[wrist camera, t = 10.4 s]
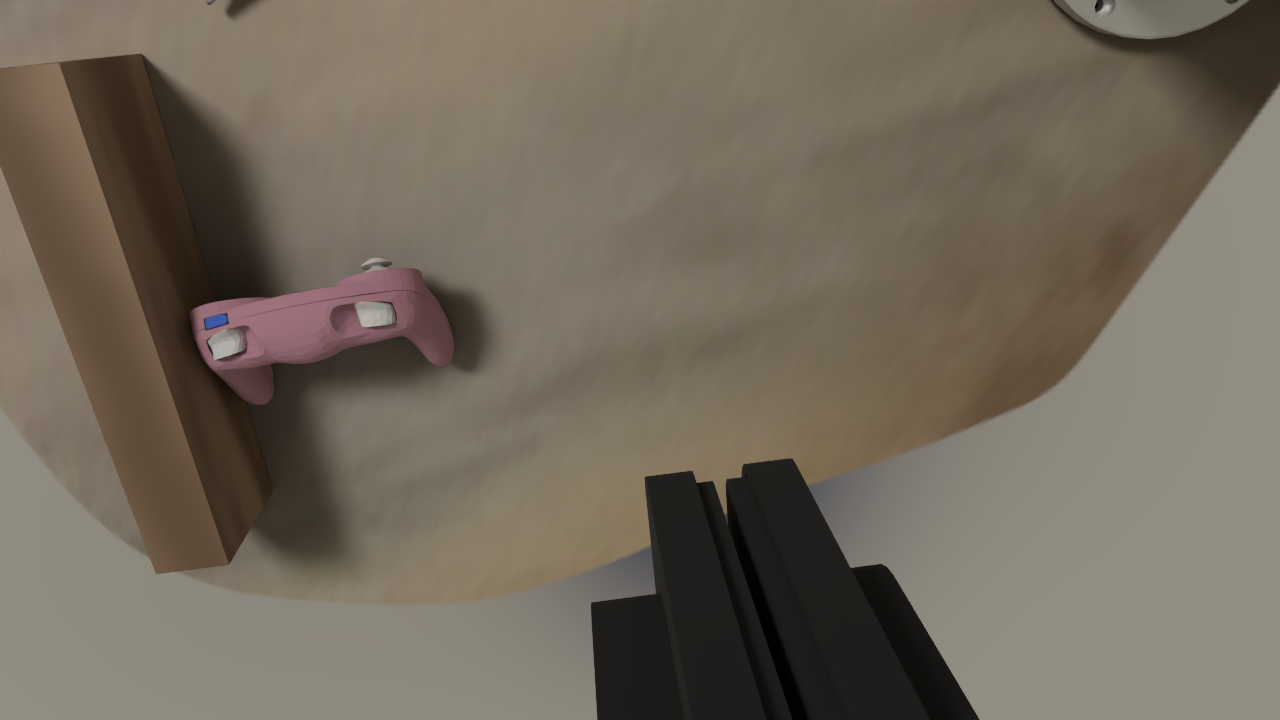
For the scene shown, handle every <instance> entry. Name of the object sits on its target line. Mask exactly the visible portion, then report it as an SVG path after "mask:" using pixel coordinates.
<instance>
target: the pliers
mask: <svg viewBox="0 0 1280 720" xmlns="http://www.w3.org/2000/svg"><path fill="white" fill-rule="evenodd" d="M215 1H216V0H206V1H205V3H206V4H208V5H211V4H212V3H213V2H215Z"/></svg>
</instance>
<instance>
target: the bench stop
mask: <svg viewBox="0 0 1280 720" xmlns="http://www.w3.org/2000/svg"><path fill="white" fill-rule="evenodd" d="M0 166H1V169H2V171H3V174H4V177H5V179H6V182H7V185H8V187H9V190H10V192H11V195H12V198H13V200H14V203H15V206H16V208H17V211H18V213H19V216H20V219H21V221H22V224H23V227H24V229H25V232H26V234H27V237H28V240H29V242H30V245H31V247H32V250H33V253H34V255H35V258H36V261H37V263H38V266H39V268H40V271H41V274H42V276H43V279H44V282H45V284H46V287H47V289H48V292H49V295H50V297H51V300H52V302H53V305H54V308H55V310H56V313H57V316H58V318H59V321H60V323H61V326H62V329H63V331H64V334H65V337H66V339H67V342H68V344H69V347H70V350H71V352H72V355H73V358H74V360H75V363H76V365H77V368H78V371H79V373H80V376H81V378H82V381H83V384H84V386H85V389H86V392H87V394H88V397H89V399H90V402H91V405H92V407H93V410H94V413H95V415H96V418H97V420H98V423H99V426H100V428H101V431H102V433H103V436H104V439H105V441H106V444H107V447H108V449H109V452H110V454H111V457H112V460H113V462H114V465H115V468H116V470H117V473H118V475H119V478H120V481H121V483H122V486H123V489H124V491H125V494H126V496H127V499H128V502H129V504H130V507H131V509H132V512H133V515H134V517H135V520H136V523H137V525H138V528H139V530H140V533H141V536H142V538H143V541H144V544H145V546H146V549H147V551H148V554H149V557H150V559H151V562H152V564H153V567H154V570H155V572H156V574H161V573H169V572H176V571H184V570H192V569H200V568H208V567H215V566H223V565H229V564H230V562H231V561H232V559H233V557H234V556H235V554H236V552H237V550H238V549H239V547H240V545H241V544H242V542H243V540H244V538H245V537H246V535H247V533H248V532H249V530H250V528H251V527H252V525H253V523H254V521H255V520H256V518H257V516H258V515H259V513H260V511H261V510H262V508H263V506H264V504H265V503H266V501H267V499H268V498H269V496H270V494H271V493H272V491H273V488H272V485H271V482H270V479H269V475H268V472H267V469H266V465H265V462H264V459H263V455H262V452H261V449H260V445H259V442H258V439H257V435H256V432H255V429H254V426H253V422H252V419H251V416H250V412H249V409H248V406H247V402H246V401H245V400H244V399H242V398H241V397H240V396H239V395H238V394H237V393H236V392H235V391H234V390H233V389H232V388H231V387H230V386H229V385H228V384H227V383H226V382H225V381H224V380H223V379H222V378H221V377H220V376H218V375H217V374H216V373H215V372H214V371H213V370H212V369H211V368H210V367H209V366H208V365H207V364H206V362H205V361H204V359H203V358H202V356H201V354H200V351H199V349H198V346H197V343H196V341H195V340H194V339H193V332H192V326H191V319H190V311H191V310H193V309H194V308H196V307H199V306H202V305H204V304H208V303H212V302H216V300H215V296H214V293H213V290H212V286H211V283H210V280H209V276H208V273H207V270H206V267H205V263H204V260H203V257H202V253H201V250H200V247H199V243H198V240H197V237H196V233H195V230H194V227H193V223H192V220H191V217H190V214H189V210H188V207H187V204H186V200H185V197H184V194H183V190H182V187H181V184H180V180H179V177H178V174H177V170H176V167H175V164H174V161H173V157H172V154H171V151H170V147H169V144H168V141H167V137H166V134H165V131H164V127H163V124H162V121H161V117H160V114H159V111H158V108H157V104H156V101H155V98H154V94H153V91H152V88H151V84H150V81H149V78H148V74H147V71H146V68H145V64H144V61H143V58H142V55H141V54H134V55H124V56H114V57H104V58H94V59H83V60H73V61H63V62H54V63H45V64H35V65H26V66H17V67H8V68H0Z"/></svg>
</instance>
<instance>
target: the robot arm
mask: <svg viewBox="0 0 1280 720" xmlns="http://www.w3.org/2000/svg"><path fill="white" fill-rule="evenodd" d="M1248 1H1250V0H1054V2H1055V3H1056V4H1057V5H1058V6H1059V7H1060V8H1061V9H1063V10H1064V11H1065V12H1066V13H1067V14H1069V15H1070V16H1071V17H1072V18H1073V19H1074V20H1076V21H1077V22H1079V23H1081V24H1083V25H1085V26H1087V27H1089V28H1091V29H1093V30H1095V31H1097V32H1100V33H1104V34H1109V35H1113V36H1117V37H1122V38H1137V39H1157V38H1167V37H1176V36H1180V35H1183V34H1186V33H1189V32H1193V31H1196V30H1199V29H1202V28H1205V27H1207V26H1209V25H1211V24H1213V23H1215V22H1217V21H1219V20H1221V19H1223V18H1224V17H1226V16H1228V15H1230V14H1232V13H1233V12H1235V11H1236V10H1237V9H1239V8H1240V7H1242V6H1243V5H1244V4H1246V3H1247V2H1248ZM1096 2H1097V8H1096V9H1095V5H1096ZM645 489H646V499H647V509H648V518H649V528H650V538H651V548H652V556H653V566H654V576H655V586H656V594H652V595H645V596H637V597H631V598H622V599H615V600H608V601H600V602H592V603H591V615H592V633H593V650H594V667H595V684H596V702H597V718H598V720H979V718H978V716H977V715H976V713H975V711H974V710H973V708H972V707H971V705H970V703H969V701H968V700H967V698H966V696H965V695H964V693H963V691H962V689H961V688H960V686H959V684H958V683H957V681H956V679H955V678H954V676H953V674H952V673H951V671H950V669H949V668H948V666H947V664H946V663H945V661H944V659H943V658H942V656H941V654H940V653H939V651H938V649H937V647H936V646H935V644H934V642H933V641H932V639H931V637H930V636H929V634H928V632H927V631H926V629H925V628H924V626H923V624H922V622H921V621H920V619H919V617H918V616H917V614H916V612H915V611H914V609H913V607H912V605H911V604H910V602H909V601H908V599H907V597H906V595H905V594H904V592H903V591H902V589H901V587H900V585H899V584H898V582H897V580H896V579H895V577H894V575H893V574H892V573H891V572H890V570H889V569H888V568H887V567H886V566H884V565H882V564H878V565H870V566H863V567H855V568H850V566H849V564H848V563H847V561H846V559H845V557H844V555H843V553H842V552H841V549H840V547H839V545H838V543H837V541H836V540H835V538H834V536H833V534H832V532H831V530H830V528H829V526H828V524H827V522H826V521H825V519H824V517H823V515H822V513H821V511H820V509H819V507H818V505H817V504H816V502H815V500H814V498H813V496H812V494H811V492H810V490H809V488H808V486H807V484H806V483H805V481H804V479H803V477H802V475H801V473H800V471H799V469H798V467H797V465H796V464H795V462H794V461H793V459H790V458H789V459H782V460H774V461H766V462H758V463H750V464H744V465H743V467H742V477H740V478H733V479H727V481H726V498H727V515H728V524H727V521H726V518H725V515H724V512H723V509H722V506H721V503H720V500H719V497H718V494H717V491H716V488H715V485H714V483H713V481H709V482H701V483H696V480H695V477H694V474H693V471H687V472H679V473H671V474H663V475H655V476H647V477H645Z"/></svg>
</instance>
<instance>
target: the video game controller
mask: <svg viewBox="0 0 1280 720" xmlns="http://www.w3.org/2000/svg"><path fill="white" fill-rule="evenodd" d="M391 264H392V262H391V261H390V260H387V259H383V258H372V259H369V260H368V261H367V262H365V263H364V264H363V265H361V268H362V269H365V270H368V271H366V272H364V273H361V274H357V275H354V276H350V277H348V278H345V279H342V280H341V281H339V282H337V284H336V286H332V287H325V288H319V289H313V290H308V291H303V292H297V293H292V294H287V295H282V296H277V297H273V298H267V297H257V298H240V299H231V300H224V301H217V302H212V303H208V304H204V305H202V306H199V307H196V308H194V309H193V310H191V311H190V319H191V326H192V332H193V339H194V340H195V341H196V343H197V346H198V349H199V351H200V354H201V356H202V358H203V359H204V361H205V362H206V364H207V365H208V366H209V367H210V368H211V369H212V370H213V371H214V372H215V373H216V374H217V375H218V376H220V377H221V378H222V379H223V380H224V381H225V382H226V383H227V384H228V385H229V386H230V387H231V388H232V389H233V390H234V391H235V392H236V393H237V394H238V395H239V396H240V397H241V398H242V399H244V400H245V401H246V402H248V403H251V404H255V405H264V404H266V403H268V402H269V401H270V400H271V398H272V396H273V394H274V379H273V371H272V368H271V364H273V363H289V364H308V363H313V362H318V361H321V360H324V359H326V358H329V357H331V356H334V355H335V354H337V353H339V352H341V351H343V350H344V349H346V348H350V347H355V346H360V345H365V344H371V343H376V342H379V341H383V340H387V339H391V338H394V337H398V336H404V337H406V338H408V339H409V340H410V341H411V342H412V343H414V344H415V345H416V346H417V348H418V349H419V350H420V351H421V352H422V354H423V355H424V356H425V357H426V358H427V359H428V361H429V362H431V363H433V364H435V365H437V366H439V367H445V366H448V365H449V364H450V362H451V361H452V358H453V354H454V338H453V334H452V331H451V327H450V324H449V322H448V319H447V317H446V315H445V313H444V311H443V310H442V308H441V306H440V304H439V302H438V301H437V299H436V298H435V297H434V296H433V294H432V293H431V292H430V290H429V289H428V288H427V287H426V285H425V284H424V283H423V279H422V274H421V272H420V271H419V270H417V269H412V268H396V269H391V268H387V266H389V265H391Z"/></svg>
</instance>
